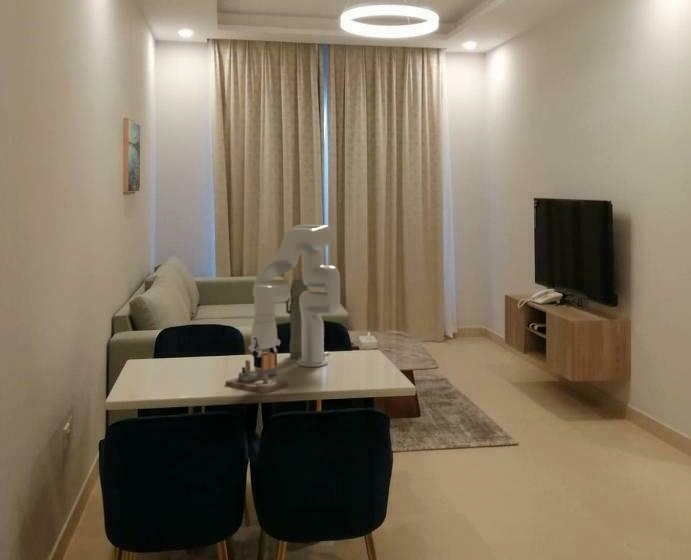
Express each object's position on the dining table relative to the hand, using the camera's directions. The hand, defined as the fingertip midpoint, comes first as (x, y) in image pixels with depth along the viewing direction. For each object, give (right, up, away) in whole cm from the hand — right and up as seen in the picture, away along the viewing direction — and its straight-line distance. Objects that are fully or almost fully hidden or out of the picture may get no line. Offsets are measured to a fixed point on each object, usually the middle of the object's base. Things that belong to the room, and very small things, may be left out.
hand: (265, 365), depth 256 cm
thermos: (+10, -3, +52) cm, 53 cm away
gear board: (-4, -8, +4) cm, 10 cm away
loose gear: (0, -1, 0) cm, 1 cm away
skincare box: (-2, -6, +21) cm, 22 cm away
